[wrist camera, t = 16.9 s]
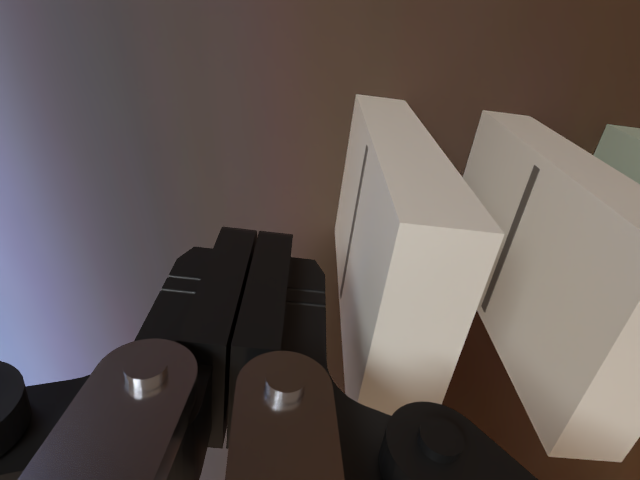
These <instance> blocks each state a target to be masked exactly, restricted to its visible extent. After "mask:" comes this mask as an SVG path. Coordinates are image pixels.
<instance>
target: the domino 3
mask: <svg viewBox="0 0 640 480" xmlns="http://www.w3.org/2000/svg"><path fill="white" fill-rule="evenodd" d="M593 156H595V157H597V158H598V159H600V160H601V161H603V162H605V163H606V164H608V165H609V166H611V167H613V168H614V169H616V170H617V171H619V172H621V173H622V174H624V175H626V176H627V177H629V178H630V179H632V180H634V181H635V182H637V183H638V184H640V128H634V127H626V126H618V125H610V124H607V125H606V128H605V130H604V132H603V134H602V137H601V139H600V141H599V144H598V146H597V148H596V150H595V153H594V155H593Z"/></svg>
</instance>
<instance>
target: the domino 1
mask: <svg viewBox="0 0 640 480" xmlns="http://www.w3.org/2000/svg"><path fill="white" fill-rule="evenodd" d="M504 235H505V234H504V232H503V231H502V230H501V228H500V227H499V226H498V224H497V223H496V222H495V220H494V219H493V218H492V216H491V215H490V214H489V212H488V211H487V210H486V208H485V207H484V206H483V204H482V203H481V202H480V200H479V199H478V198H477V196H476V195H475V194H474V192H473V191H472V190H471V188H470V187H469V186H468V184H467V183H466V182H465V180H464V179H463V178H462V176H461V175H460V174H459V172H458V171H457V169H456V168H455V167H454V165H453V164H452V163H451V161H450V160H449V159H448V157H447V156H446V155H445V153H444V152H443V151H442V149H441V148H440V147H439V145H438V144H437V143H436V141H435V140H434V139H433V137H432V136H431V135H430V133H429V132H428V131H427V129H426V128H425V127H424V125H423V124H422V123H421V121H420V120H419V119H418V117H417V116H416V115H415V113H414V112H413V111H412V109H411V108H410V107H409V105H408V104H407V103H406V101H405V100H399V99H391V98H383V97H375V96H367V95H359V94H356V98H355V104H354V110H353V117H352V123H351V129H350V136H349V142H348V148H347V155H346V161H345V168H344V174H343V180H342V187H341V193H340V199H339V206H338V212H337V218H336V225H335V243H336V258H337V274H338V289H339V305H340V320H341V335H342V351H343V366H344V382H345V394H346V395H347V396H348V397H349V398H351V399H353V400H354V401H356V402H358V403H360V404H362V405H365V406H367V407H370V408H372V409H375V410H378V411H380V412H383V413H385V414H388V415H391V416H392V415H393V413H394V412H395V411H396V410H397V409H399V408H400V407H402V406H404V405H406V404H409V403H412V402H421V401H422V402H433V403H438V404H441V405H442V402H443V399H444V397H445V394H446V391H447V389H448V386H449V383H450V381H451V378H452V375H453V372H454V370H455V367H456V364H457V362H458V359H459V356H460V354H461V351H462V348H463V345H464V343H465V340H466V337H467V335H468V332H469V329H470V327H471V324H472V321H473V318H474V316H475V313H476V310H477V308H478V305H479V302H480V300H481V297H482V294H483V291H484V289H485V286H486V283H487V281H488V278H489V275H490V272H491V270H492V267H493V264H494V262H495V259H496V256H497V254H498V251H499V248H500V245H501V243H502V240H503V237H504Z"/></svg>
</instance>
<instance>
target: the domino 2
mask: <svg viewBox="0 0 640 480" xmlns="http://www.w3.org/2000/svg"><path fill="white" fill-rule="evenodd" d="M463 179H464V180H465V182H466V183H467V184H468V186H469V187H470V188H471V190H472V191H473V192H474V194H475V195H476V196H477V198H478V199H479V200H480V202H481V203H482V204H483V206H484V207H485V208H486V210H487V211H488V212H489V214H490V215H491V216H492V218H493V219H494V220H495V222H496V223H497V224H498V226H499V227H500V228H501V230H502V231H503V232H504V234H505V235H504V237H503V240H502V243H501V245H500V248H499V251H498V254H497V256H496V259H495V262H494V264H493V267H492V270H491V272H490V275H489V278H488V281H487V283H486V286H485V289H484V291H483V294H482V297H481V300H480V302H479V305H478V308H477V311H478V313H479V316H480V318H481V320H482V322H483V324H484V326H485V328H486V330H487V332H488V334H489V336H490V338H491V340H492V342H493V344H494V346H495V348H496V351H497V353H498V355H499V357H500V359H501V361H502V363H503V365H504V367H505V369H506V371H507V373H508V375H509V377H510V379H511V381H512V383H513V385H514V388H515V390H516V392H517V394H518V396H519V398H520V400H521V402H522V404H523V406H524V408H525V410H526V412H527V414H528V416H529V418H530V420H531V423H532V425H533V427H534V429H535V431H536V433H537V435H538V437H539V439H540V441H541V443H542V445H543V447H544V449H545V451H546V453H547V455H548V457H559V458H572V459H585V460H598V461H611V462H622V461H623V459H624V458H625V457H626V455H627V454H628V452H629V451H630V450H631V448H632V447H633V445H634V444H635V443H636V441H637V440H638V439H639V437H640V184H638V183H637V182H635V181H634V180H632V179H630V178H629V177H627V176H626V175H624V174H622V173H621V172H619V171H617V170H616V169H614V168H613V167H611V166H609V165H608V164H606V163H605V162H603V161H601V160H600V159H598V158H597V157H595V156H593V155H592V154H590V153H588V152H587V151H585V150H584V149H582V148H580V147H579V146H577V145H576V144H574V143H572V142H571V141H569V140H568V139H566V138H564V137H563V136H561V135H559V134H558V133H556V132H555V131H553V130H551V129H550V128H548V127H547V126H545V125H543V124H542V123H540V122H539V121H537V120H535V119H534V118H532V117H531V116H525V115H517V114H509V113H502V112H494V111H486V110H483V111H482V114H481V118H480V121H479V124H478V128H477V131H476V134H475V138H474V141H473V145H472V148H471V151H470V155H469V158H468V161H467V165H466V168H465V172H464V175H463Z"/></svg>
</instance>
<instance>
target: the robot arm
mask: <svg viewBox="0 0 640 480" xmlns="http://www.w3.org/2000/svg"><path fill="white" fill-rule="evenodd" d="M292 238H293V235H292V234H283V233H275V232H266V231H259V234H258V238H257V231H256V230H247V229H239V228H230V227H222V228H221V231H220V233H219V236H218V238H217V240H216V243H215V245H214V248H213V249H210V248H201V247H193V248H192V249H190V250H189V251H188V252H186V253H185V254H183V255H182V256H180V257H179V258H178V259H177V260H176V262H175V264H174V266H173V268H172V270H171V272H170V274H169V278H167V279H166V281H165V283H164V285H163V287H162V291H160V293H159V295H158V297H157V298H156V300H155V302H154V304H153V306H152V308H151V310H150V312H149V314H148V316H147V318H146V319H145V321H144V323H143V325H142V327H141V329H140V331H139V333H138V335H137V337H136V339H135V341H134V342H130V343H128V344H125V345H122V346H120V347H118V348H116V349H115V350H113V351H112V352H110V353H109V354H108V355H106V356H105V357H104V358H103V359H102V360H101V361H100V363H99V364H98V365H97V366H96V368H95V369H94V371H93V372H92V373H91V375H88V376H85V377H82V378H77V379H72V380H66V381H59V382H53V383H46V384H40V385H33V386H27V387H25V384H24V380H23V376H22V375H21V373H20V372H19V370H17V369H16V368H15V367H14V366H12V365H10V364H8V363H5V362H1V361H0V480H199V478H200V475H201V471H202V467H203V463H204V459H205V455H206V451H207V447H212V448H223V443H224V438H225V433H226V429H227V445H226V448H227V449H228V457H227V466H226V475H225V480H538V479H537V478H535V477H534V476H533V475H532V474H531V473H530V472H529V471H527V470H526V469H525V468H524V467H523V466H522V465H520V464H519V463H518V462H517V461H516V460H515V459H513V458H512V457H511V456H510V455H509V454H508V453H507V452H505V451H504V450H503V449H502V448H501V447H500V446H498V445H497V444H496V443H495V442H494V441H493V440H492V439H490V438H489V437H488V436H487V435H486V434H485V433H483V432H482V431H481V430H480V429H479V428H478V427H477V426H475V425H474V424H473V423H472V422H471V421H470V420H468V419H467V418H466V417H464V416H463V415H462V414H460V413H458V412H457V411H455V410H453V409H451V408H449V407H447V406H444V405H441V404H438V403H433V402H422V401H421V402H412V403H409V404H406V405H404V406H402V407H400V408H399V409H397V410H396V411H395V412H394V413H393V415H392V416H391V415H388V414H385V413H383V412H380V411H378V410H375V409H372V408H370V407H367V406H365V405H362V404H360V403H358V402H356V401H354V400H353V399H351V398H349V397H348V396H347V395H346V394H344V393H343V392H342V391H341V390H340V389H339V388H338V387H337V386H336V384H335V383H334V382H333V380H332V378H331V377H330V375H329V372H328V369H327V361H326V308H325V274H324V273H323V271H322V270H321V268H320V267H319V265H318V264H317V262H316V261H315V260H311V259H302V258H293V257H291V248H292Z"/></svg>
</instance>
